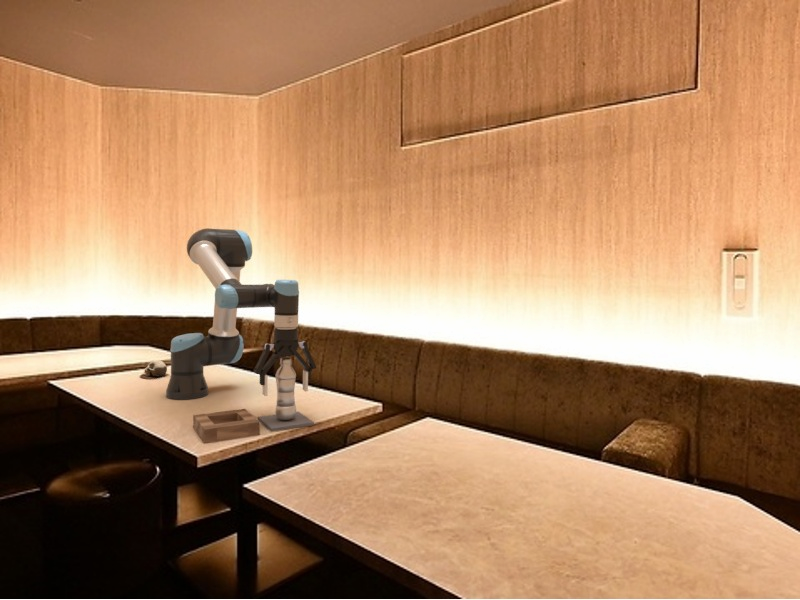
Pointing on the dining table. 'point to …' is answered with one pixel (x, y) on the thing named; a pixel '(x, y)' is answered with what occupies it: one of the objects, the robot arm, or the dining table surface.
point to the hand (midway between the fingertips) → (285, 392)
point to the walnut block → (225, 425)
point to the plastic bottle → (285, 390)
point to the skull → (155, 370)
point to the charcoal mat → (285, 422)
